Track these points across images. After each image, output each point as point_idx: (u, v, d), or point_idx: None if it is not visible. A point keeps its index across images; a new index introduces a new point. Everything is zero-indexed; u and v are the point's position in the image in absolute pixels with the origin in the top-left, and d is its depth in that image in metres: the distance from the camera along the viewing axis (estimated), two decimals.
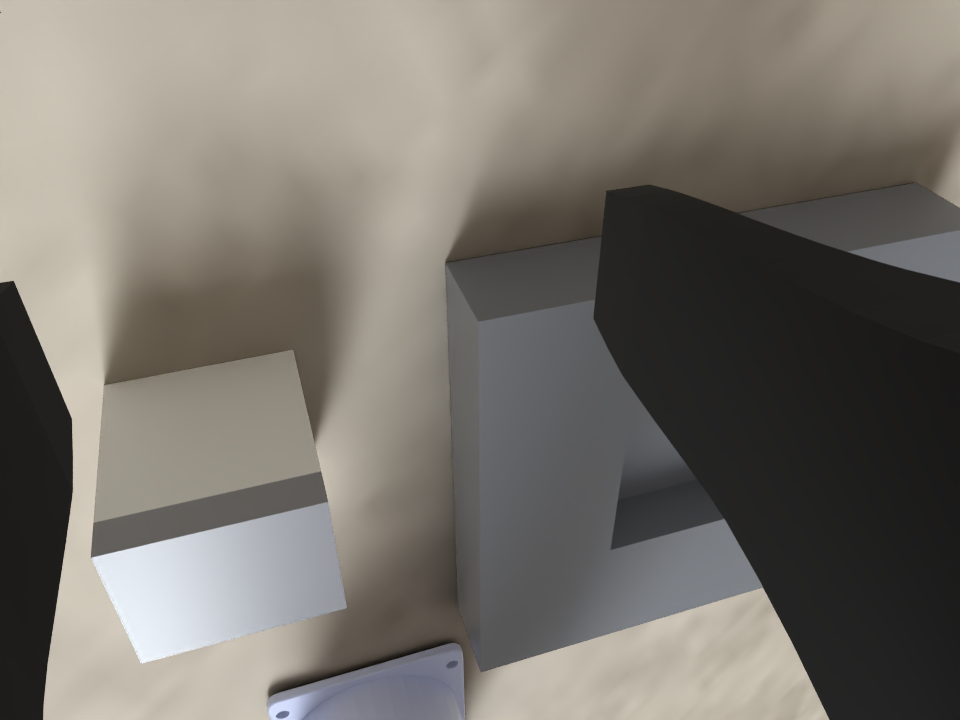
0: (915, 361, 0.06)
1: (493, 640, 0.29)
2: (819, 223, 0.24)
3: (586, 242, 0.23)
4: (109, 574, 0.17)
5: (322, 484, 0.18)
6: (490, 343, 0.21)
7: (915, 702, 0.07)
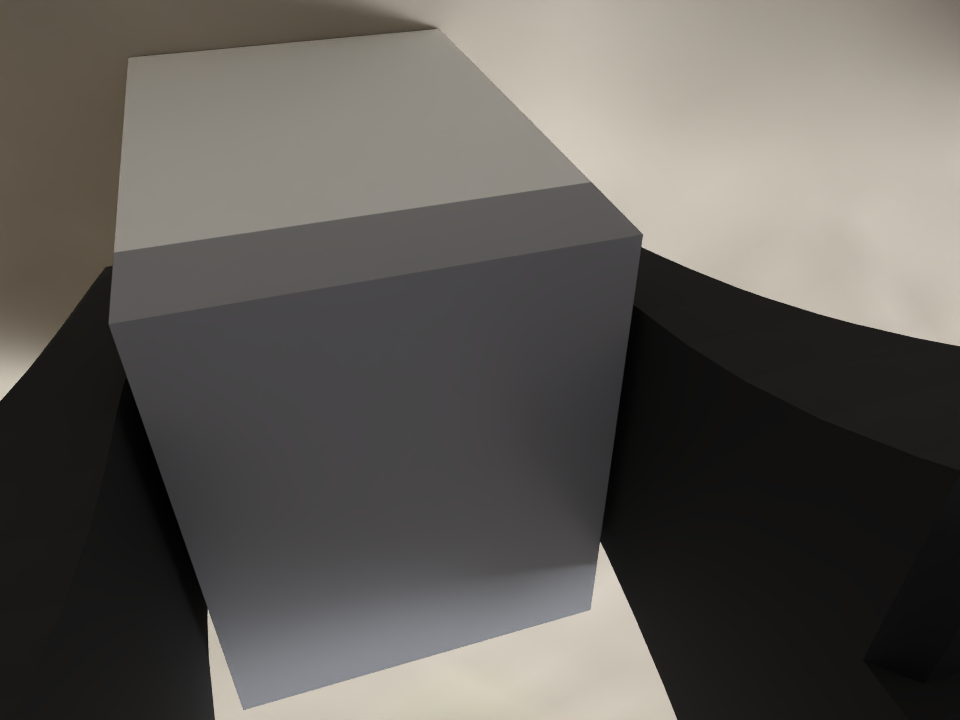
0: (740, 403, 0.06)
1: None
2: None
3: None
4: (302, 682, 0.09)
5: (111, 285, 0.06)
6: None
7: None
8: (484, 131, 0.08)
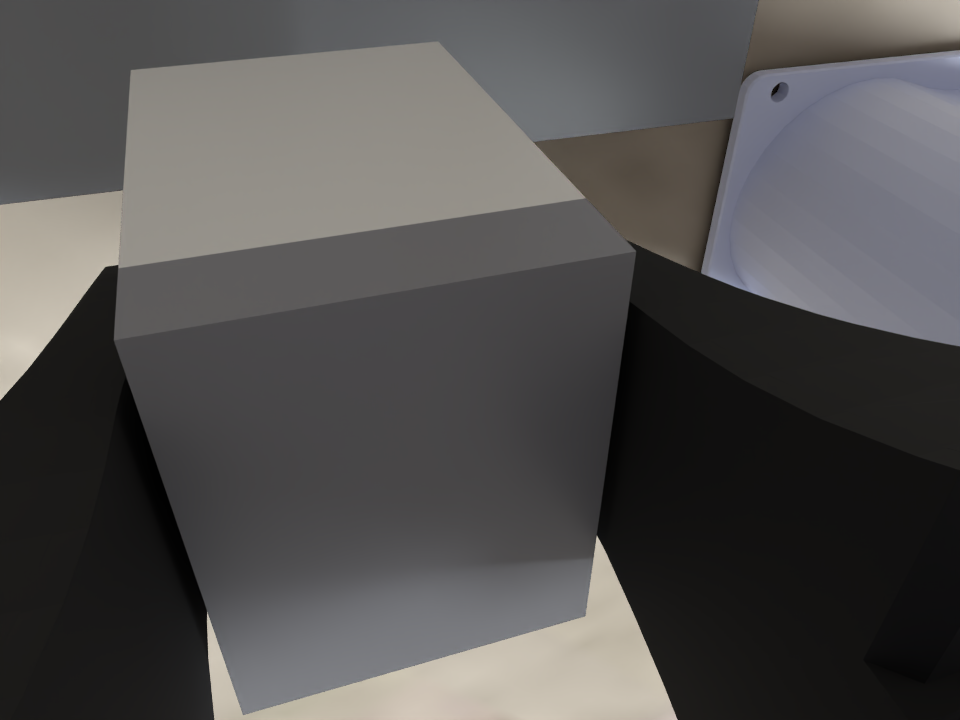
0: (742, 401, 0.06)
1: (664, 105, 0.17)
2: None
3: None
4: (300, 688, 0.09)
5: (116, 301, 0.06)
6: None
7: None
8: (481, 147, 0.08)
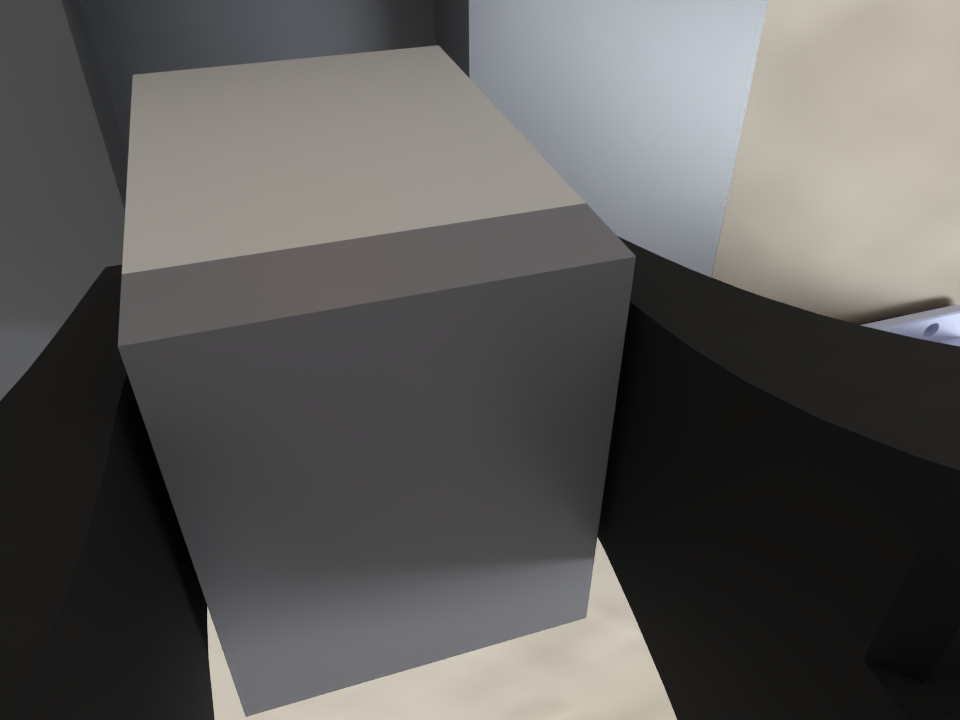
0: (742, 403, 0.06)
1: None
2: None
3: None
4: (303, 690, 0.09)
5: (120, 307, 0.06)
6: None
7: None
8: (482, 151, 0.08)
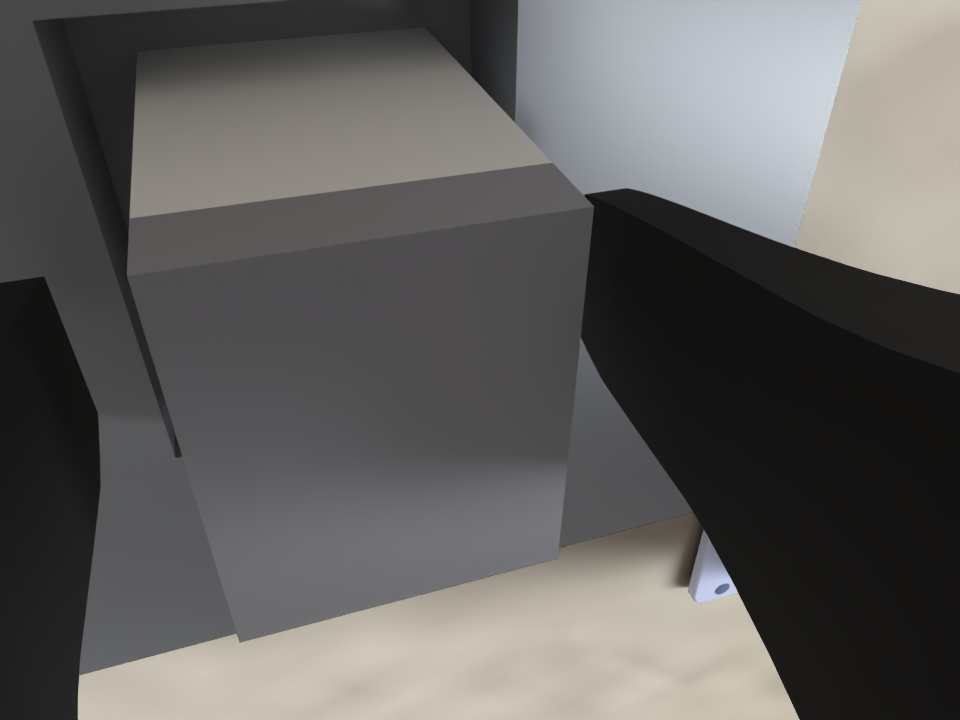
0: (882, 369, 0.06)
1: (653, 508, 0.17)
2: None
3: None
4: (293, 618, 0.09)
5: (128, 245, 0.07)
6: None
7: (885, 712, 0.07)
8: (461, 119, 0.09)
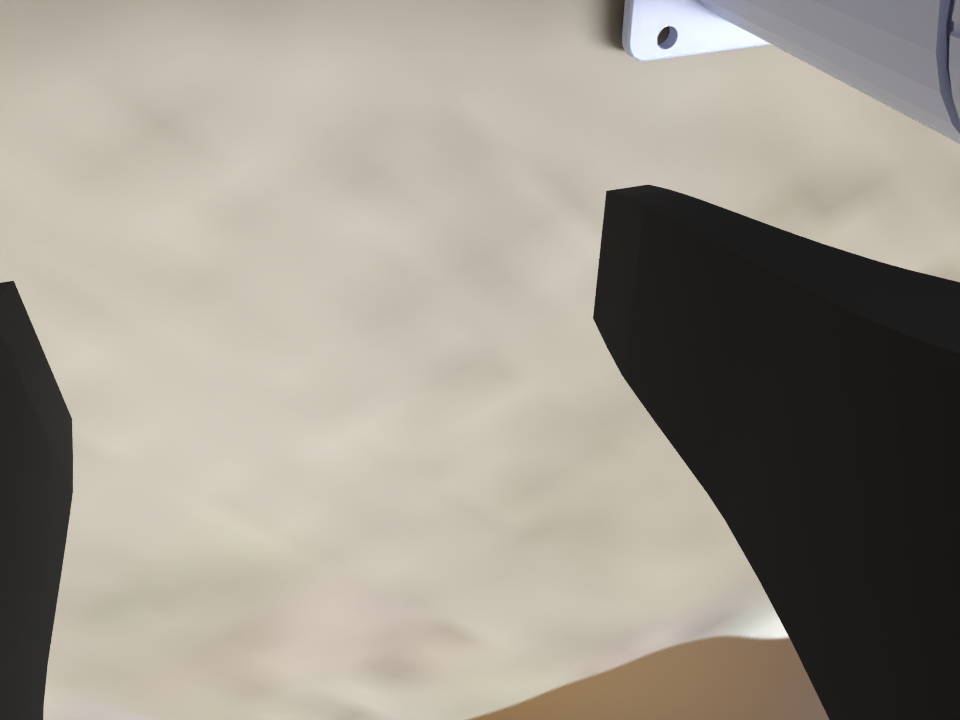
0: (916, 361, 0.06)
1: None
2: None
3: None
4: None
5: None
6: None
7: (915, 702, 0.07)
8: None
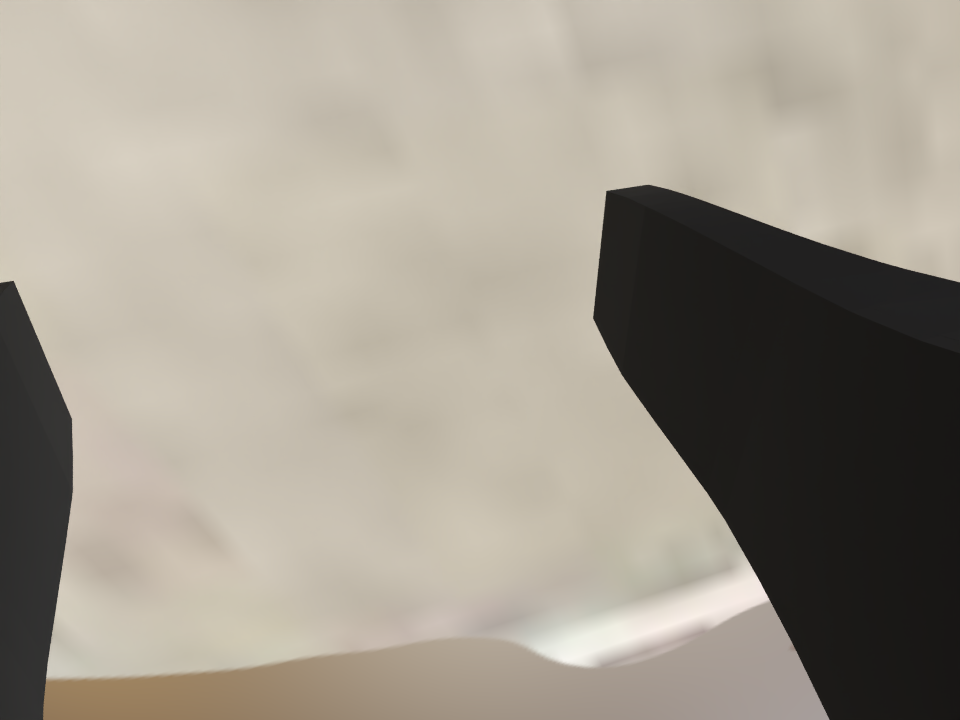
0: (914, 361, 0.06)
1: None
2: None
3: None
4: None
5: None
6: None
7: (915, 702, 0.07)
8: None
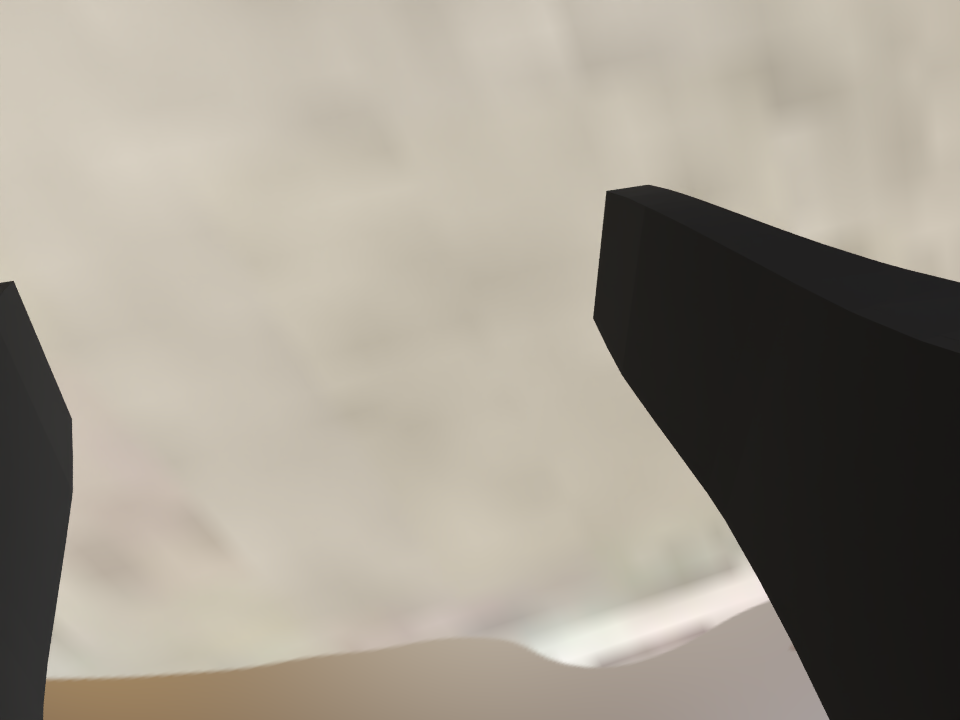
0: (914, 361, 0.06)
1: None
2: None
3: None
4: None
5: None
6: None
7: (915, 702, 0.07)
8: None
